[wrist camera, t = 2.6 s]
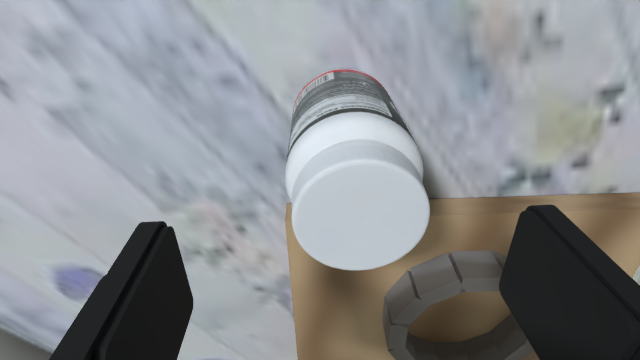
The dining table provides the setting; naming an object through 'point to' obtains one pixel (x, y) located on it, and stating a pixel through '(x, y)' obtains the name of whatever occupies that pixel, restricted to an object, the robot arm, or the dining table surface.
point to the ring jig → (442, 283)
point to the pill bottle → (353, 174)
